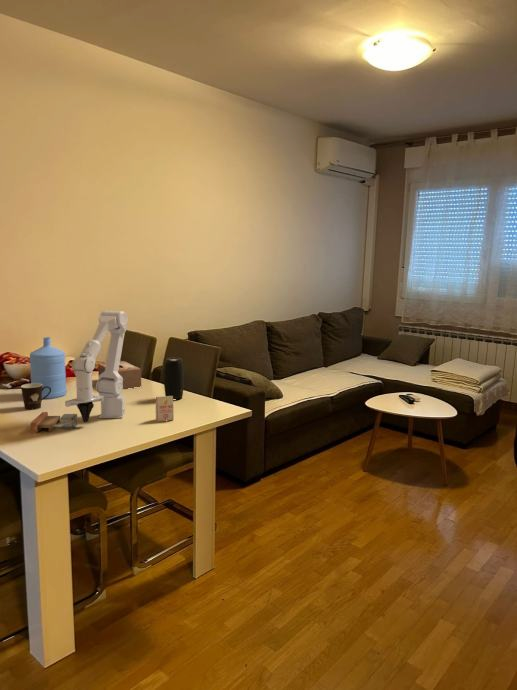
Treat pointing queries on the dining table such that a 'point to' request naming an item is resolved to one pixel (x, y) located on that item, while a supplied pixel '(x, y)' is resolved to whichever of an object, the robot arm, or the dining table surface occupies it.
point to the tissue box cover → (125, 374)
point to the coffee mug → (33, 395)
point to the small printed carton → (164, 408)
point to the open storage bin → (73, 418)
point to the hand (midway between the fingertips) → (85, 421)
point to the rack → (44, 422)
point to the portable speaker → (174, 377)
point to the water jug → (49, 369)
